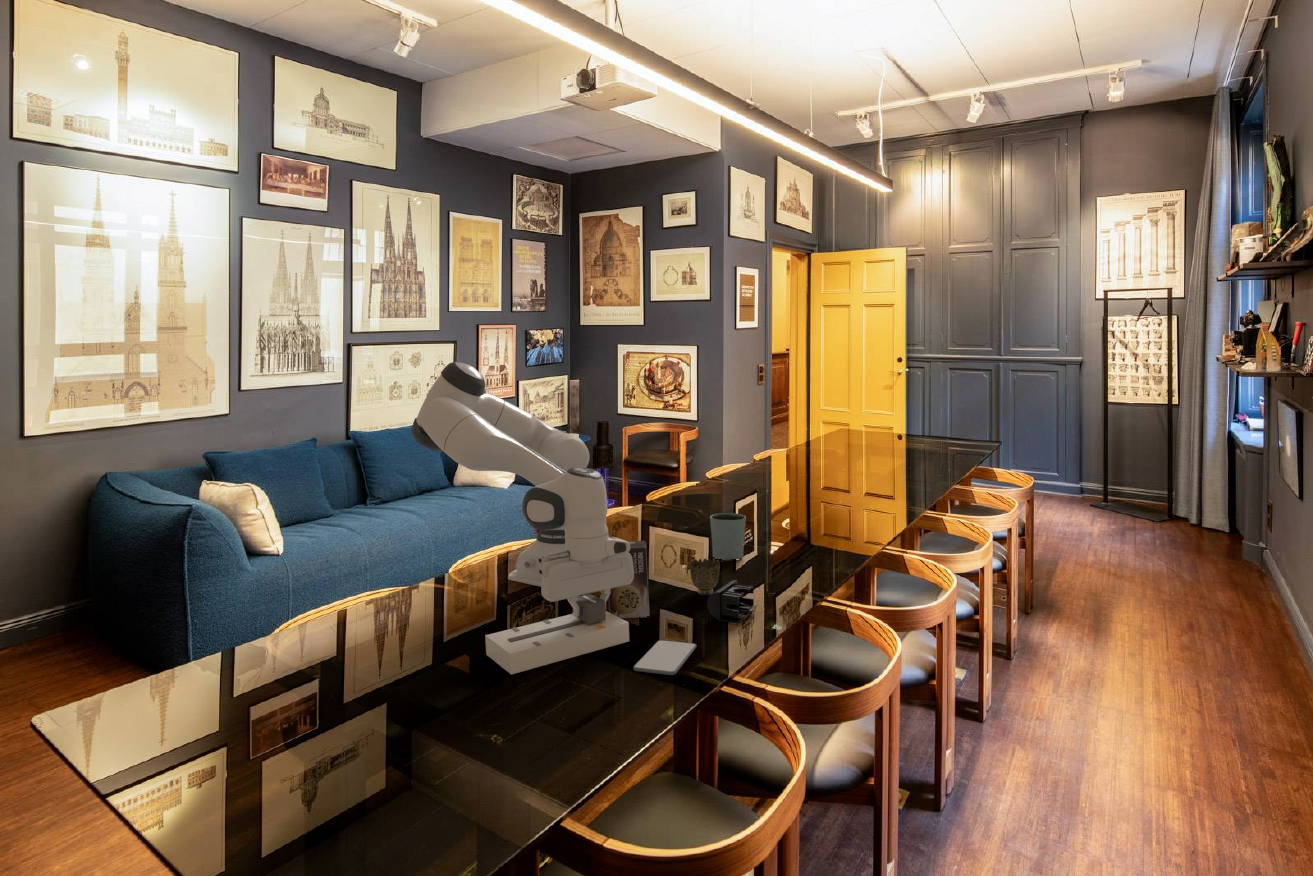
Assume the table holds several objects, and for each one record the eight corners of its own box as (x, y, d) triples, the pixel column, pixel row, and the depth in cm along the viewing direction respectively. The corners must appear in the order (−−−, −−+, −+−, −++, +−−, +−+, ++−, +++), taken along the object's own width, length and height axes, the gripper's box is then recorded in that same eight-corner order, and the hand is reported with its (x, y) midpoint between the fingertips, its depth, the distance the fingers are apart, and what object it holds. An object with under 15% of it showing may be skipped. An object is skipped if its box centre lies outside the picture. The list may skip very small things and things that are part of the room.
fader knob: (588, 624, 153) (587, 604, 153) (574, 616, 158) (573, 597, 158) (605, 619, 156) (605, 600, 155) (591, 612, 161) (590, 593, 160)
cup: (718, 599, 180) (717, 566, 179) (688, 598, 182) (687, 565, 181) (722, 589, 187) (721, 558, 186) (692, 589, 189) (691, 557, 188)
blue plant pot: (705, 555, 220) (704, 514, 219) (738, 551, 223) (737, 511, 222) (719, 564, 210) (718, 521, 209) (752, 560, 213) (751, 518, 212)
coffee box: (648, 608, 176) (646, 540, 174) (649, 618, 169) (647, 547, 167) (609, 610, 175) (606, 541, 173) (608, 619, 169) (605, 548, 167)
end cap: (725, 607, 175) (725, 578, 174) (754, 611, 172) (754, 582, 171) (707, 620, 166) (706, 590, 166) (737, 625, 163) (736, 594, 162)
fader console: (511, 674, 141) (510, 652, 141) (486, 654, 151) (485, 634, 150) (629, 641, 156) (628, 621, 155) (599, 625, 166) (598, 606, 165)
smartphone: (697, 643, 152) (674, 672, 138) (697, 648, 152) (674, 677, 138) (658, 639, 155) (631, 667, 141) (658, 644, 155) (632, 672, 141)
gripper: (548, 559, 147) (551, 628, 148) (636, 542, 158) (639, 606, 160) (534, 553, 152) (537, 620, 154) (620, 536, 164) (623, 599, 165)
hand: (590, 612), depth 157 cm, fingers closed on fader knob, 4 cm apart
